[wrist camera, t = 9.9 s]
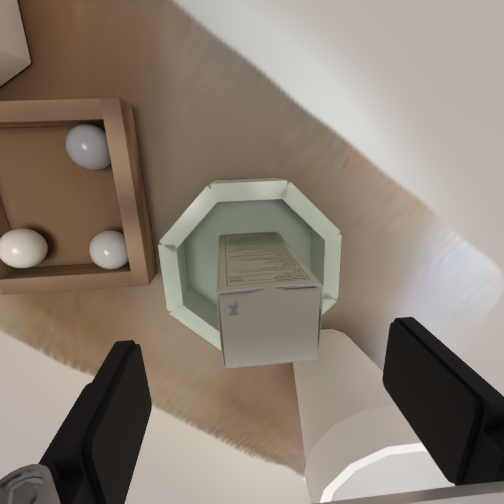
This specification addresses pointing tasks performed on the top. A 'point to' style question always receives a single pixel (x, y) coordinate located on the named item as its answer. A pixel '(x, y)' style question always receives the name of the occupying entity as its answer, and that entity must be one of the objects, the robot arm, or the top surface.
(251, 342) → the box
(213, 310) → the bowl
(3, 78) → the jar
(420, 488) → the foam cup
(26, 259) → the pebble
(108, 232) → the white ball
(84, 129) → the pebble
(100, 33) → the top surface
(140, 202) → the tray
